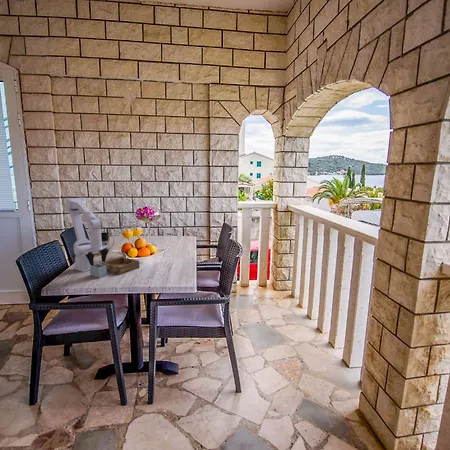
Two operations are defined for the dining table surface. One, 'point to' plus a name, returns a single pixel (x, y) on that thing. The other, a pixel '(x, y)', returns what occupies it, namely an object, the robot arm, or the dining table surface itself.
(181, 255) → the dining table surface
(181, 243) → the dining table surface
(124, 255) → the flower pot
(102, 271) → the box
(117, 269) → the big crate
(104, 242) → the grey jug
